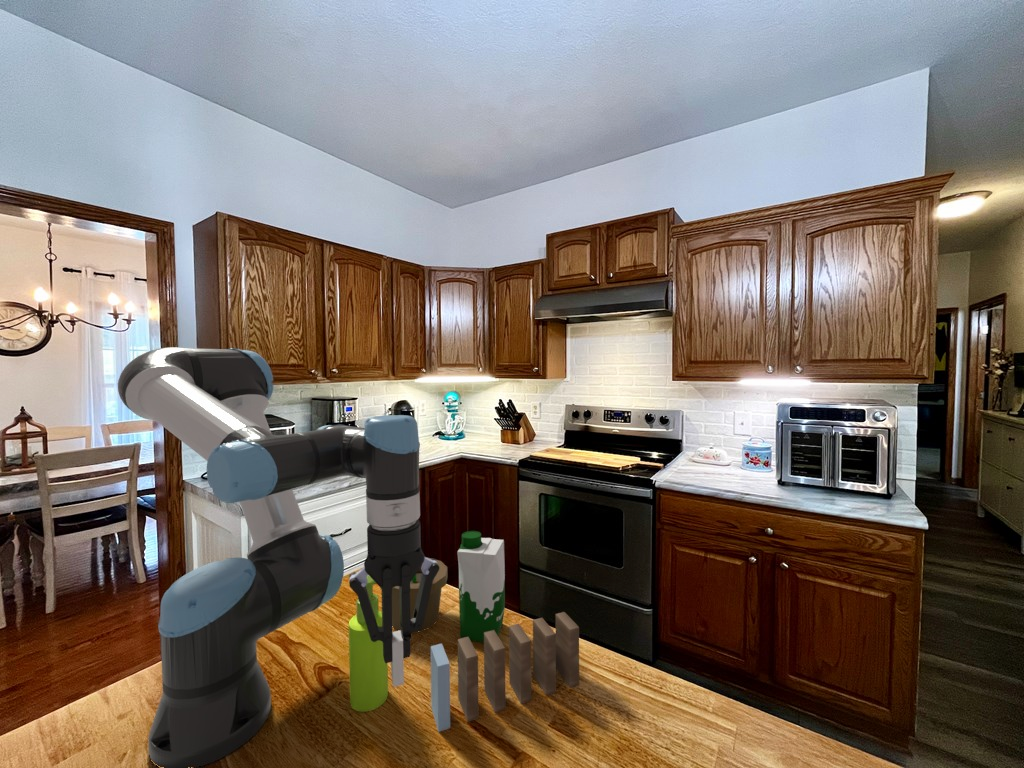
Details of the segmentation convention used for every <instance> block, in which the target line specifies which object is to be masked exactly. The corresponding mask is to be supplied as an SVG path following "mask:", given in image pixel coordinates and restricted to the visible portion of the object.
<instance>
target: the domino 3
mask: <svg viewBox="0 0 1024 768" xmlns="http://www.w3.org/2000/svg"><path fill="white" fill-rule="evenodd" d="M483 663H484V664H483V665H484V667H483V670H484V671H483V672H484V673H483V674H484V675H483V676H484V677H483V678H484V680H483V681H484V682H483V683H484V692H485V695H486V697H487V700H488V701H489V704H490V706H491V708H492V710H493V712H494V713H499V712H501V711H505V710H506V647H505V646H504V644H503V642H502V640H501V639H500V637H499V634H498V635H497V634H496V632H495V631H494V630H492V631H488V632H484V642H483Z"/></svg>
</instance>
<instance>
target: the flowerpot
mask: <svg viewBox="0 0 1024 768" xmlns="http://www.w3.org/2000/svg"><path fill="white" fill-rule="evenodd" d="M428 558H429V559H431V558H430V557H428ZM435 560H436V562H437V563H438V565H439V571H438V573H437V574H436V576H435V578H434V580H433V583H432V587H431V592H430V597H429V601H428V606H427V610H426V615H425V620H424V624H423V628H422V630H423V631H425V630H424V629H426V630H428V629H427V628H429V629H430V628H431V627H433V626H434V625H435V624H436V623H437V622H438V620H439V614H440V606H441V597H442V596H441V595H442V589H443V587H445V586H447V581H448V566H447V565H445V563H444V562H443V561H441V560H440V559H439V560H438V559H435ZM421 568H422V565H421V567H420V568H419V570H418V571H417V573H416V575H415V576H414V578H413V579H412V581H411V582H410V619H412V617H413V613H414V608H415V604H416V599H417V594H418V590H419V585H420V580H421V576H422V573H423V572H422V570H421ZM378 587H379V589H381V587H380V586H378ZM437 619H438V620H437ZM436 621H437V622H436ZM435 622H436V623H435ZM434 623H435V624H434ZM433 624H434V625H433ZM432 625H433V626H432ZM392 626H393V627H392V629H393V628H394V629H396V630H395V631H397V630H401V627H400V597H399V586H395V587H393V588H392ZM394 629H393V630H394ZM422 630H420V632H423V631H422ZM415 632H418V631H415ZM418 633H419V632H418Z"/></svg>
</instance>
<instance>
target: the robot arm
mask: <svg viewBox="0 0 1024 768" xmlns="http://www.w3.org/2000/svg"><path fill="white" fill-rule="evenodd" d="M273 382H274V375H273V372H272V369H271V367H270V365H269V364H268V362H267V361H266V359H265V358H264V357H262V356H261V355H260V354H259V353H257V352H255V351H252V350H247V349H246V350H245V349H239V348H233V347H231V348H226V349H225V348H221V349H220V348H198V347H197V348H196V347H177V346H176V347H173V346H172V347H161V348H156V349H153V350H148V351H147V352H145V353H142V354H140V355H137V356H136V357H135V358H134V359H132V360H131V361H130V362H129V363H128V364H127V365H125V367H124V368H123V370H122V371H121V373H120V375H119V378H118V380H117V390H118V391H117V392H118V395H119V398H120V400H121V401H122V403H123V404H124V405H125V407H126V408H127V409H129V410H130V411H131V412H132V413H133V414H134V415H136V416H138V417H139V418H141V419H145V420H149V421H155V422H157V423H158V424H159V425H161V426H162V427H163V428H164V429H166V430H167V431H168V432H169V433H171V434H172V435H174V437H176V438H177V439H178V440H180V441H181V442H182V443H183V444H185V445H186V446H188V447H189V449H191V450H192V451H194V452H195V453H197V454H198V455H199V456H200V457H202V458H203V459H204V460H206V461H207V462H206V478H207V479H206V480H207V483H208V484H209V487H210V488H211V489H212V494H213V495H214V497H215V498H216V499H218V500H219V501H220V502H222V503H227V504H234V503H239V504H240V507H241V511H242V513H243V516H244V519H245V522H246V525H247V528H248V530H249V533H250V537H251V541H252V545H251V547H250V548H249V550H248V552H247V554H246V557H247V558H246V557H230V558H226V559H224V560H222V561H221V560H220V559H219V560H215V561H212V562H209V563H207V564H204V565H201V566H199V567H197V568H194V569H193V570H191V571H189V572H187V573H185V574H184V575H183V576H181V577H179V578H178V579H177V580H175V581H174V582H173V583H172V584H171V585H169V586H170V587H169V588H168V589H167V590H166V591H165V592H164V594H163V596H162V598H161V601H160V617H159V621H158V625H157V626H158V632H159V634H160V653H161V655H160V656H161V678H162V694H161V697H160V700H159V703H158V707H157V709H156V712H155V715H154V718H153V721H152V724H151V727H150V730H149V734H148V741H147V742H148V743H147V744H148V756H149V755H150V758H151V760H152V761H153V762H154V763H155V764H157V765H158V766H160V767H164V768H188V767H190V768H191V767H197V768H200V767H199V766H201V767H204V766H205V765H206V766H207V765H208V764H212V763H215V762H217V761H218V760H220V759H222V758H224V757H227V756H228V755H230V754H231V753H233V752H235V751H236V750H238V749H239V748H240V747H242V746H243V745H244V744H246V743H248V741H249V740H250V739H252V738H253V737H254V736H255V735H256V734H257V733H258V732H259V730H260V729H262V727H263V726H264V724H265V722H266V721H267V719H268V717H269V715H270V712H271V709H272V697H271V695H272V694H271V688H270V685H269V683H268V682H269V681H268V680H267V678H266V676H265V674H264V672H263V670H262V668H261V666H260V664H259V661H258V656H257V646H258V645H257V641H258V640H260V639H261V638H263V637H265V636H266V635H267V636H268V634H270V633H272V632H274V631H276V630H278V629H280V628H282V627H284V626H285V625H288V624H290V623H291V622H293V621H295V620H298V619H299V618H301V617H303V616H305V615H306V614H309V613H311V612H314V611H315V610H318V609H320V607H321V606H322V605H325V604H326V603H327V602H329V601H330V600H332V599H333V598H334V597H335V596H336V595H337V594H338V592H339V591H340V590H341V589H340V588H341V587H342V584H343V579H344V574H345V573H344V572H345V563H344V561H345V560H344V557H343V556H344V555H343V551H342V549H341V547H340V545H339V543H338V542H337V541H336V540H335V539H334V538H333V537H332V536H330V535H329V534H328V535H327V534H320V533H319V531H318V528H317V526H316V524H314V523H311V522H309V521H305V519H304V516H303V515H302V512H301V509H300V506H299V503H298V499H297V498H296V495H295V492H294V490H293V489H297V488H301V487H305V486H309V485H313V484H316V483H321V482H326V481H328V480H332V479H336V478H340V477H346V476H347V477H348V476H349V477H353V478H354V477H355V478H361V479H365V485H366V489H365V499H366V504H365V505H366V522H367V524H368V526H367V528H366V532H367V533H366V534H367V535H366V538H367V540H366V543H367V544H366V545H367V546H366V547H367V555H366V558H365V559H364V562H363V563H364V564H363V567H362V568H360V569H359V570H358V571H357V572H354V571H353V572H351V573H350V574H349V575H348V583H349V587H350V588H349V589H351V590H352V591H353V592H354V594H356V596H357V599H359V602H360V605H361V609H362V612H363V615H364V619H365V622H366V625H367V629H368V632H369V635H370V639H371V641H373V642H376V641H378V640H380V641H382V642H383V657H384V661H385V663H387V664H389V663H390V675H391V681H392V688H395V687H399V686H402V685H404V684H405V675H404V674H405V672H404V671H405V670H404V666H405V665H404V659H407V658H410V657H411V654H412V651H411V650H412V649H411V645H412V643H411V639H412V637H413V636H412V635H413V634H414V633H413V632H415V631H420V630H422V628H423V624H424V620H425V615H426V610H427V606H428V601H429V597H430V592H431V587H432V583H433V580H434V578H435V576H436V574H437V573H438V571H439V565H438V563H437V562H436V560H437V559H436V558H434V557H433V558H431V559H429V558H430V557H426V556H425V554H424V551H423V550H422V546H421V545H422V543H421V541H422V540H421V536H422V535H421V522H420V520H419V519H420V518H421V517H420V516H421V501H420V500H421V498H420V447H421V444H420V443H421V442H420V439H419V438H420V437H419V428H418V427H419V426H418V422H417V420H416V418H415V417H413V416H411V415H406V414H405V415H404V414H399V415H395V414H389V415H388V414H387V415H386V414H385V415H377V416H371V417H369V418H367V419H366V420H365V422H364V427H361V426H360V427H359V426H350V425H345V424H340V423H338V424H328V425H323V426H320V427H318V428H317V429H316V430H310V431H305V432H304V431H303V432H295V433H288V434H281V435H278V434H277V435H276V434H273V432H272V430H271V429H270V426H269V423H268V421H267V417H266V414H265V411H266V409H267V408H268V406H269V404H270V402H269V400H270V399H271V397H272V395H273V391H274V384H273ZM421 565H422V568H421V570H422V572H423V573H422V576H421V580H420V585H419V590H418V594H417V599H416V604H415V608H414V613H413V617H412V619H410V582H411V581H412V579H413V578H414V576H415V575H416V573H417V571H418V570H419V568H420V567H421ZM367 575H369V576H370V577H371V578H372V579H373V580H374V581H375V582H376V583H377V584H376V585H377V586H378V587H379V586H380V587H381V588H380V587H379V588H380V591H381V611H382V627H380V626H378V625H377V622H376V618H375V615H374V612H373V608H372V605H371V602H370V598H369V595H368V592H367V588H366V585H367ZM395 586H399V597H400V627H401V630H399V631H397V630H394V631H393V627H392V588H393V587H395ZM420 632H421V631H420ZM150 758H149V759H150Z"/></svg>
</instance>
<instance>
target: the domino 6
mask: <svg viewBox="0 0 1024 768" xmlns="http://www.w3.org/2000/svg"><path fill="white" fill-rule="evenodd" d="M555 634H556V672H558V674H559V675H560V677H561V678H562V679H563V680H564V682H565V683H566V685H567V686H568V687H569V688H573V687H576V686H579V685H580V627H579V625H578V624H577V623H576V622H575V621H574V620H573V619H572V618H571V617H570V616H569V615H568V614H567V612H565V611H561V612H558V613H555Z"/></svg>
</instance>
